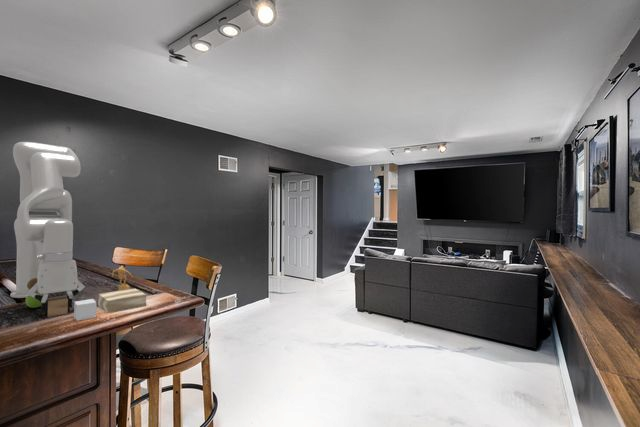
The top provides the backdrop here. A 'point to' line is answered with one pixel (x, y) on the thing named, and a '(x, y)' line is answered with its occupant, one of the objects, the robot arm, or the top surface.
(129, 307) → the birch block
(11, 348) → the top surface
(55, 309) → the walnut cube
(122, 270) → the figurine
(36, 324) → the top surface
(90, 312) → the grey cube
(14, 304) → the top surface
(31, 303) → the snail figurine
